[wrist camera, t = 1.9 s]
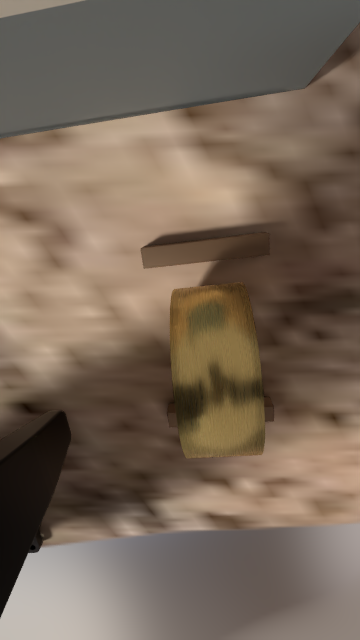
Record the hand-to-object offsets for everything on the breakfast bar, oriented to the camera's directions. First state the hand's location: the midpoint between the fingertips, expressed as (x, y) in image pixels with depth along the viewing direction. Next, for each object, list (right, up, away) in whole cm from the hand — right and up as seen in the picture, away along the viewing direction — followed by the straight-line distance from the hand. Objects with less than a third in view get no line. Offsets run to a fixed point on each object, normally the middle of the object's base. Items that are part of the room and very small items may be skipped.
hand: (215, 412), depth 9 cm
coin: (0, +2, +5) cm, 6 cm away
